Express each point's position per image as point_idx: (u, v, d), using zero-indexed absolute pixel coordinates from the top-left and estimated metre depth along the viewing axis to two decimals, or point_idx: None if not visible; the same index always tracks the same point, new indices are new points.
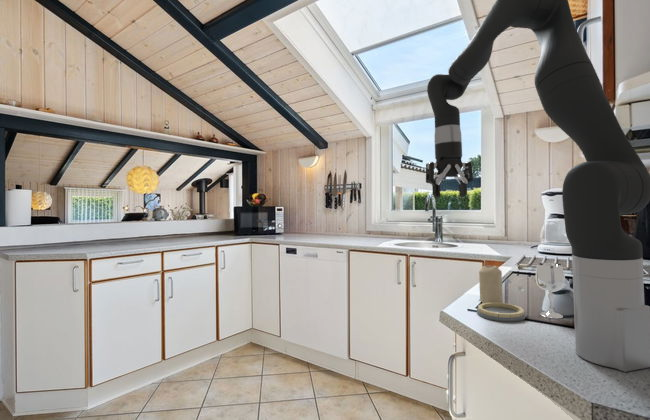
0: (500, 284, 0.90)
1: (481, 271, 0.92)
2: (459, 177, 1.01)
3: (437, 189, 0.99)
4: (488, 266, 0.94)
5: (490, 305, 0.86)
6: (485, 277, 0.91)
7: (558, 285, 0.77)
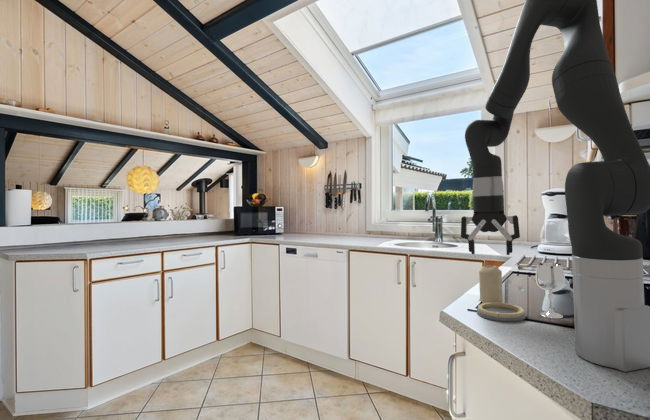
0: (500, 284, 0.90)
1: (481, 271, 0.92)
2: None
3: None
4: (488, 266, 0.94)
5: (490, 305, 0.86)
6: (485, 277, 0.91)
7: (558, 285, 0.77)
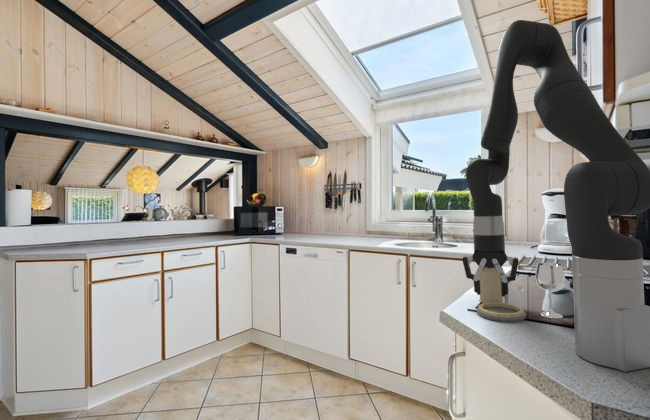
0: (500, 284, 0.90)
1: (481, 271, 0.92)
2: None
3: None
4: None
5: (490, 305, 0.86)
6: (485, 277, 0.91)
7: (558, 285, 0.77)
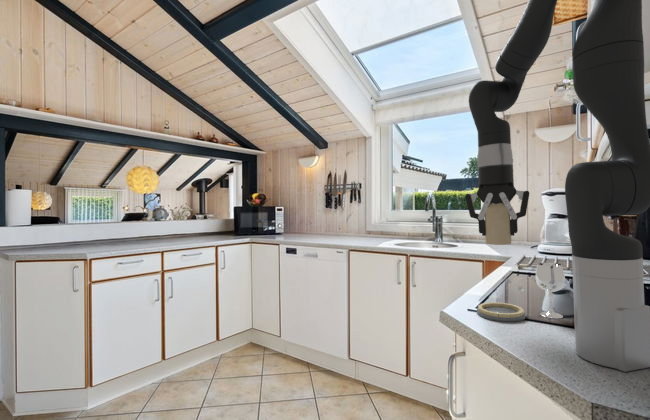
0: (508, 221, 0.80)
1: (487, 208, 0.81)
2: None
3: None
4: None
5: (490, 305, 0.86)
6: (491, 214, 0.80)
7: (558, 285, 0.77)
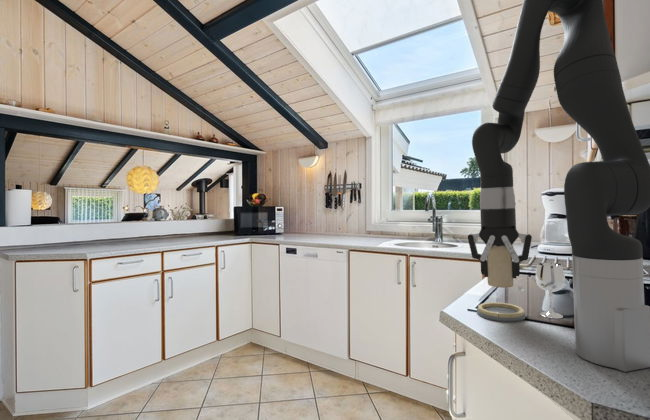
0: (510, 264, 0.80)
1: (489, 250, 0.82)
2: None
3: None
4: None
5: (490, 305, 0.86)
6: (493, 256, 0.80)
7: (558, 285, 0.77)
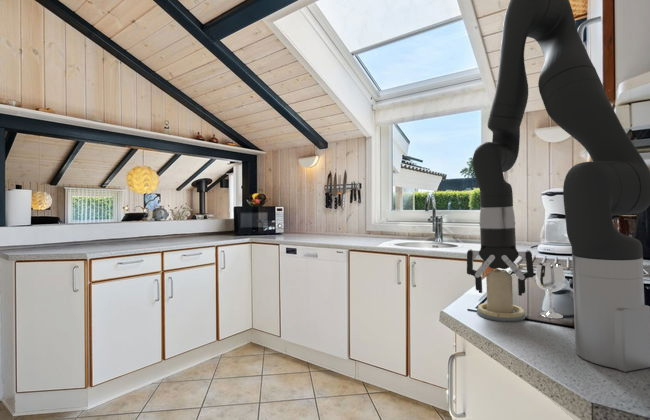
0: (510, 291, 0.80)
1: (489, 276, 0.82)
2: None
3: None
4: (496, 270, 0.83)
5: None
6: (493, 283, 0.80)
7: (558, 285, 0.77)
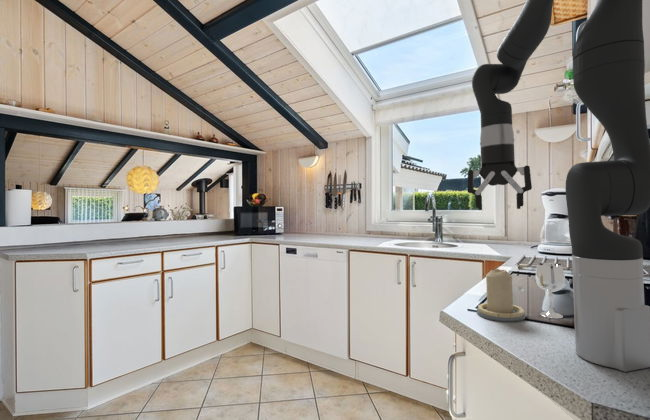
0: (510, 291, 0.80)
1: (489, 276, 0.82)
2: (485, 187, 0.88)
3: None
4: (496, 270, 0.83)
5: None
6: (493, 283, 0.80)
7: (558, 285, 0.77)
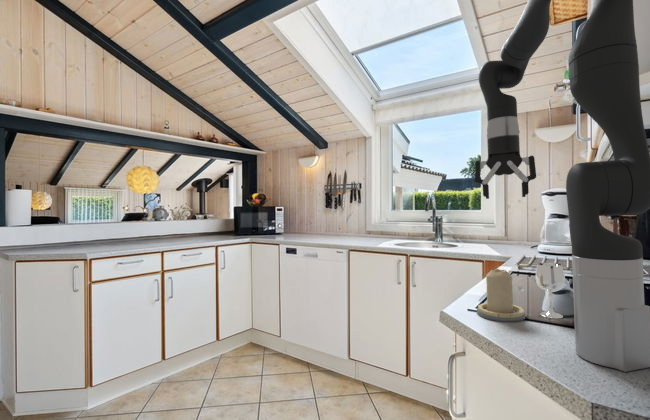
0: (510, 291, 0.80)
1: (489, 276, 0.82)
2: None
3: None
4: (497, 270, 0.83)
5: None
6: (493, 283, 0.80)
7: (558, 285, 0.77)
